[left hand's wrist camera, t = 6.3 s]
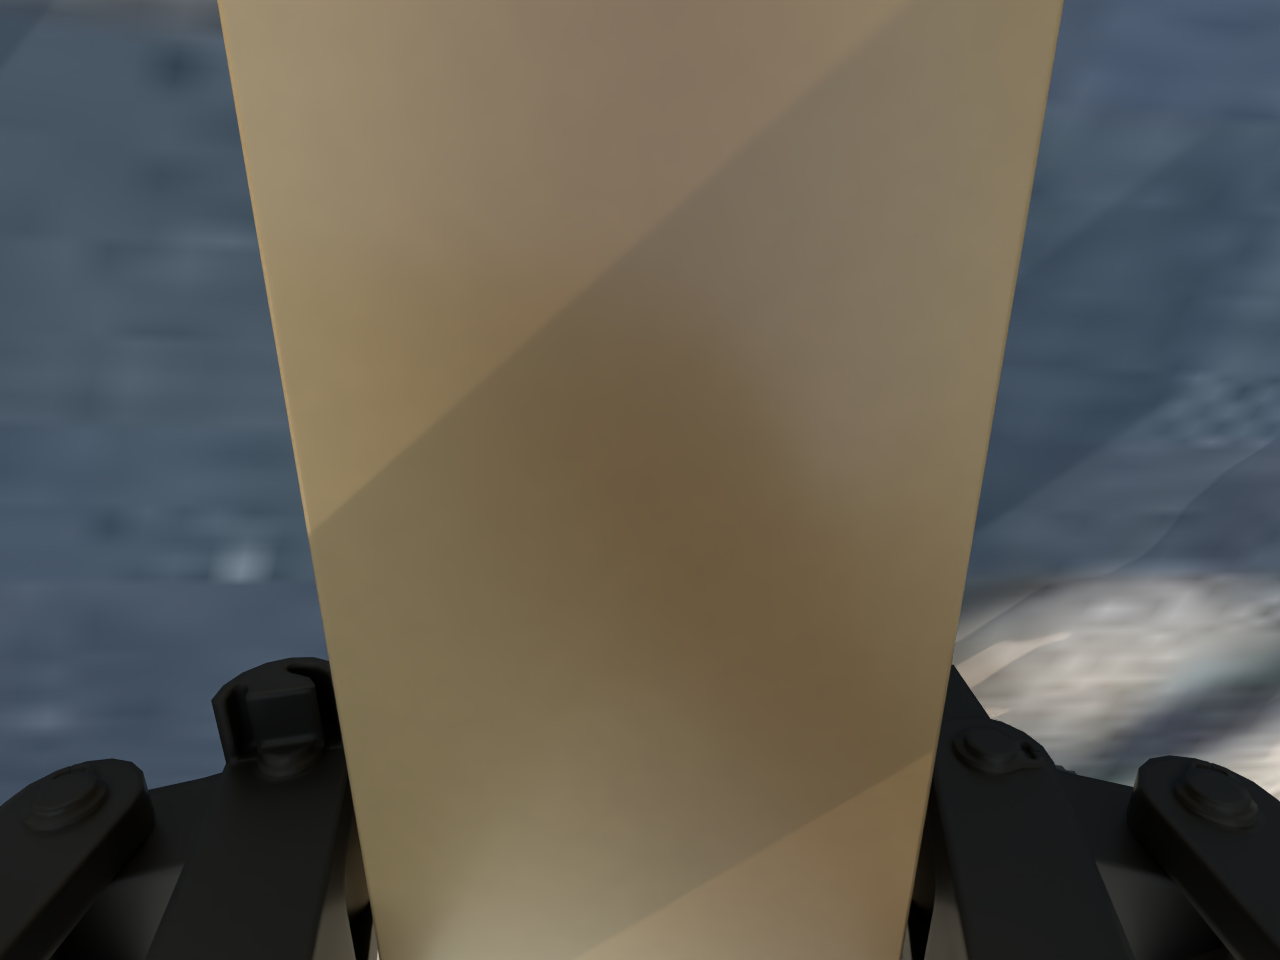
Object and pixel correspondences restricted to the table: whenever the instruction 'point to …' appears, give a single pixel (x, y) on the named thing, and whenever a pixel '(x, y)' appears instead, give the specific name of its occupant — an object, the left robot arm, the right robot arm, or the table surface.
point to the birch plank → (640, 441)
